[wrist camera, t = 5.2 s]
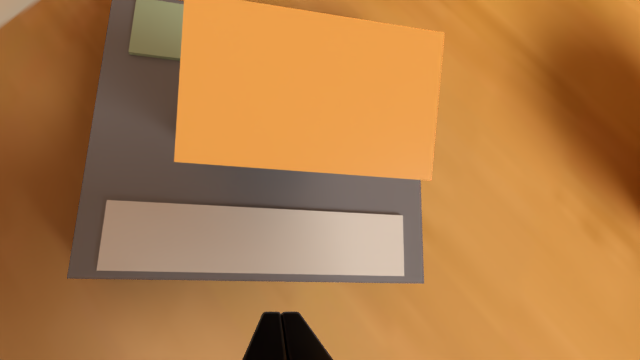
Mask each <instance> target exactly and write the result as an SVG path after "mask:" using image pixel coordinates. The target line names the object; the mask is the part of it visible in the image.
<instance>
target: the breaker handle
mask: <svg viewBox="0 0 640 360" xmlns="http://www.w3.org/2000/svg"><path fill="white" fill-rule="evenodd" d="M444 35H445V32H439V31H432V30H426V29H420V28H413V27H407V26H401V25H394V24H388V23H382V22H376V21H369V20H363V19H357V18H350V17H344V16H338V15H332V14H325V13H319V12H313V11H306V10H300V9H294V8H287V7H281V6H275V5H269V4H262V3H256V2H250V1H243V0H184V9H183V25H182V41H181V57H180V73H179V90H178V106H177V122H176V138H175V154H174V162H182V163H195V164H209V165H223V166H236V167H250V168H264V169H278V170H291V171H305V172H319V173H332V174H346V175H360V176H373V177H387V178H401V179H415V180H428V181H432V170H433V159H434V148H435V136H436V125H437V114H438V103H439V91H440V80H441V69H442V57H443V46H444Z"/></svg>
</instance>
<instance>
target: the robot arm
mask: <svg viewBox="0 0 640 360" xmlns="http://www.w3.org/2000/svg"><path fill="white" fill-rule="evenodd" d="M243 360H333V359H332V358H331V356H330V355H329V353H328V352H327V351H326V349H325V348H324V346H323V345H322V344H321V342H320V341H319V339H318V338H317V337H316V335H315V334H314V332H313V331H312V330H311V328H310V327H309V326H308V324H307V323H306V321H305V320H304V319H303V317H302V316H301V314H300V313H298V312H283V313H282V314H280V312H264V313H263V314H262V316H261V318H260V321H259V323H258V325H257V327H256V330H255V332H254V334H253V337H252V339H251V341H250V344H249V346H248V348H247V350H246V353H245V355H244V357H243Z"/></svg>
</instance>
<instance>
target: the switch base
mask: <svg viewBox="0 0 640 360" xmlns="http://www.w3.org/2000/svg"><path fill="white" fill-rule="evenodd" d="M183 9H184V1H179V0H112V3H111V9H110V16H109V22H108V28H107V34H106V40H105V46H104V53H103V59H102V65H101V71H100V77H99V83H98V90H97V96H96V102H95V108H94V114H93V121H92V127H91V133H90V139H89V145H88V151H87V158H86V164H85V170H84V176H83V182H82V189H81V195H80V201H79V207H78V213H77V219H76V226H75V232H74V238H73V244H72V250H71V256H70V263H69V269H68V275H67V278H76V279H146V280H216V281H286V282H356V283H424V270H423V241H422V212H421V183H420V180H415V179H401V178H387V177H373V176H360V175H346V174H332V173H319V172H305V171H291V170H278V169H264V168H250V167H236V166H223V165H209V164H195V163H182V162H174V154H175V138H176V122H177V106H178V90H179V73H180V57H181V41H182V25H183Z"/></svg>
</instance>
